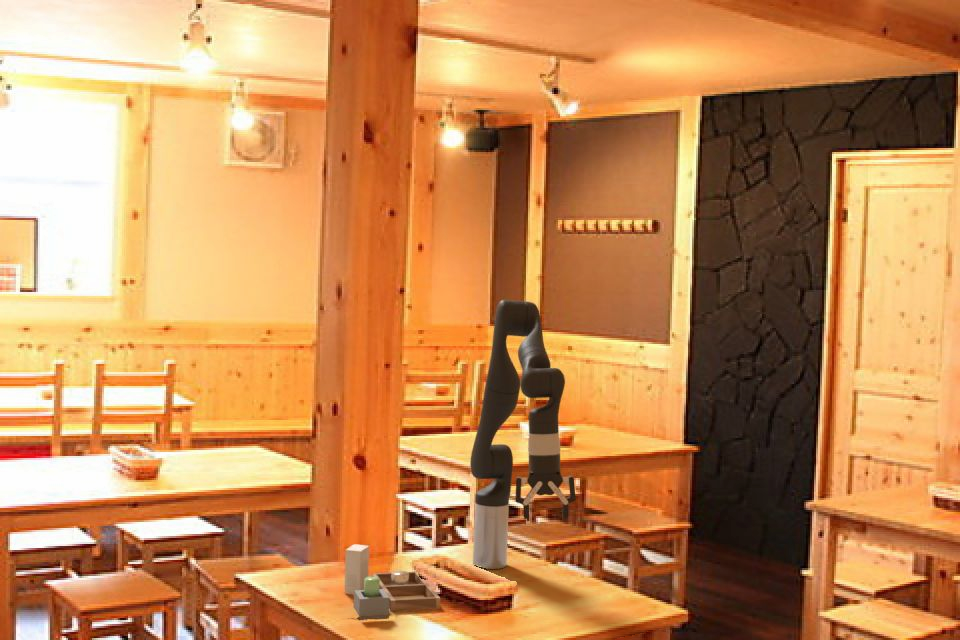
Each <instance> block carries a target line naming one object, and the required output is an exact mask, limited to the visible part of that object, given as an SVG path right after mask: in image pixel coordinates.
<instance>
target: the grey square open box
mask: <svg viewBox="0 0 960 640" xmlns="http://www.w3.org/2000/svg"><path fill="white" fill-rule="evenodd" d="M353 609H354V610H355V612H356V614H357V615H358V618H357V620H358V621H368V620H367V619H375V620H387V618H389V619H390V617H389V615H390V609H389V596H388V595H387V594H386V592H385V591H384V589H379V597H364V590H354V595H353ZM364 619H366V620H364Z"/></svg>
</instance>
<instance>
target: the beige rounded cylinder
mask: <svg viewBox="0 0 960 640" xmlns="http://www.w3.org/2000/svg"><path fill="white" fill-rule="evenodd" d="M408 572H409V571H406V570H395V571H392V572H390V573H391V585H409V573H408Z"/></svg>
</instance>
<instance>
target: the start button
mask: <svg viewBox="0 0 960 640" xmlns="http://www.w3.org/2000/svg"><path fill="white" fill-rule="evenodd" d="M379 588H380V578H378V577H372V576H369V577H366V578H365V579H364V597H379Z"/></svg>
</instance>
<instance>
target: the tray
mask: <svg viewBox="0 0 960 640" xmlns="http://www.w3.org/2000/svg"><path fill="white" fill-rule="evenodd" d="M407 572H408V573H409V585H391V573H392V572H378V573H377V572H376V573H375V572H374V573H371V577H378V578H380V588H379V589H384V591H385V592H386V594H387V595H388V596H389V612H401V611H418V610H419V611H421V610H436V609H437V610H438V609H439V610H440V609H441V597H440V596H439V595H438V594H437V592H436V591H435V590H434V588H432V587H431V585H430V584H429V583H428V582H427V580H426V579H425V578H424V579H425V580H424V579H421V578H420V577H419V575H418V574H417V572H416V571H407Z"/></svg>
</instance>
